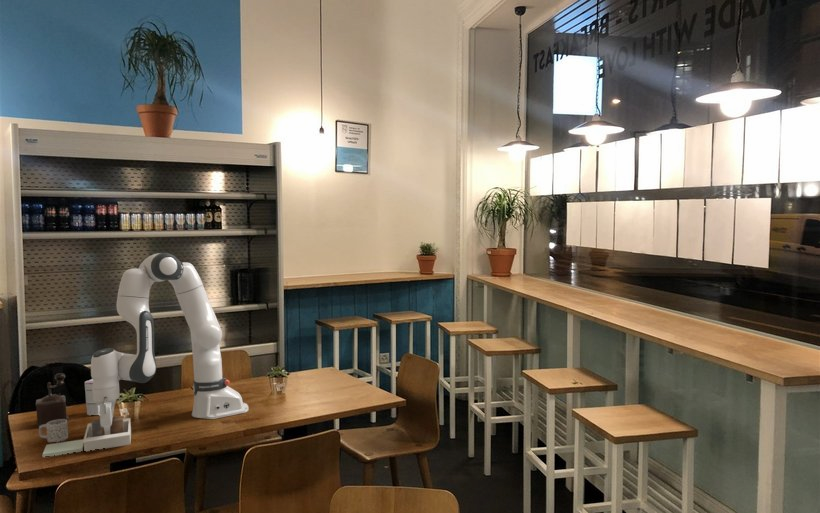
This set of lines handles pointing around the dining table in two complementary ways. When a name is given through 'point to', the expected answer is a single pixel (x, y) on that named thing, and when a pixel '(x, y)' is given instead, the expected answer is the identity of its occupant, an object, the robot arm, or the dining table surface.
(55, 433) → the mug
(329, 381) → the dining table surface
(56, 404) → the pepper mill
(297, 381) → the dining table surface
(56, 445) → the green board
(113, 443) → the tray
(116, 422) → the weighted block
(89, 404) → the syrup box
